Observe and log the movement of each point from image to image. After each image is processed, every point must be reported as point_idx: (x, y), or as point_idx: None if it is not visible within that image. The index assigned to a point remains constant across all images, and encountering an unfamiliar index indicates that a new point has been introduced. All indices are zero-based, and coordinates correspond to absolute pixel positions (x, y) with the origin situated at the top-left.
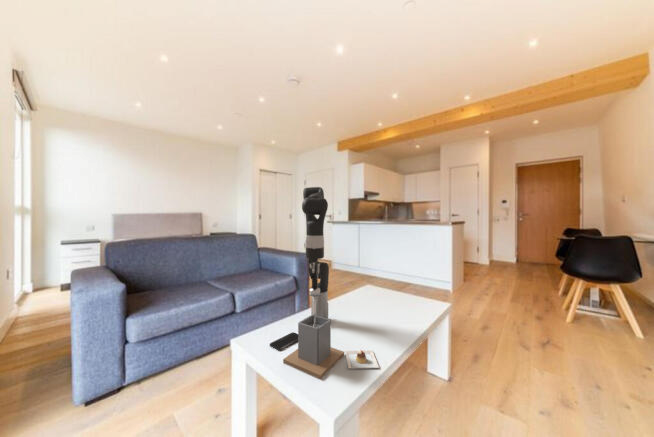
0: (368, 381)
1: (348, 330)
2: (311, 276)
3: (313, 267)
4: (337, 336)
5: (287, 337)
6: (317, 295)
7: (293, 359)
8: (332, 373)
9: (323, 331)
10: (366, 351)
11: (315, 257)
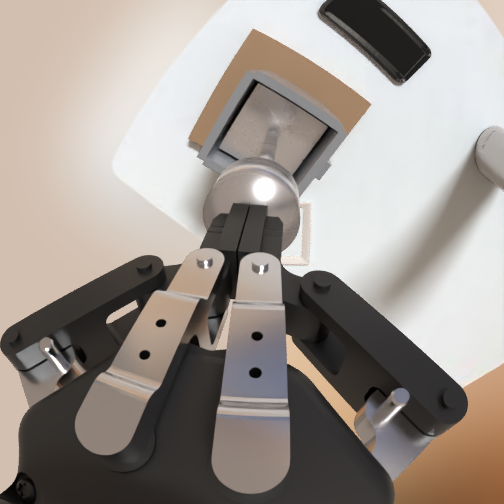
0: (199, 234)
1: (424, 226)
2: (99, 285)
3: (27, 388)
4: (399, 190)
5: (399, 32)
6: None
7: (252, 57)
8: None
9: None
10: (306, 251)
11: None
